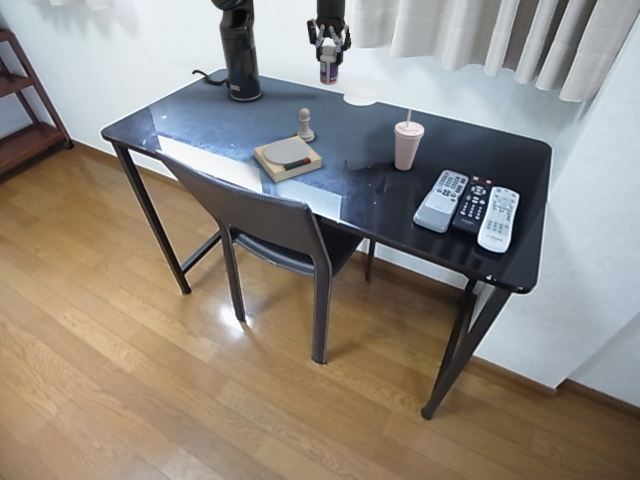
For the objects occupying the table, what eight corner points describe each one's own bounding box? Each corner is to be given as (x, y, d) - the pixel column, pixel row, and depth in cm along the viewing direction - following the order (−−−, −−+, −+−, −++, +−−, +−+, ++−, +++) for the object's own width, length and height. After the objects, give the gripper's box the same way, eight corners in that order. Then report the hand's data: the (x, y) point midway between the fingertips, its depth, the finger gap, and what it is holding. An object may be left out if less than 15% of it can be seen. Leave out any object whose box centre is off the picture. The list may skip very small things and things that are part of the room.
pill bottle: (338, 78, 113) (339, 44, 107) (337, 85, 110) (338, 50, 103) (320, 77, 114) (321, 43, 107) (319, 85, 110) (319, 49, 103)
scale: (254, 157, 91) (253, 144, 89) (298, 144, 95) (297, 132, 93) (275, 183, 83) (274, 170, 81) (322, 167, 88) (322, 155, 85)
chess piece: (294, 135, 98) (292, 105, 93) (311, 132, 99) (310, 103, 94) (299, 143, 95) (297, 114, 90) (316, 140, 96) (316, 111, 91)
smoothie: (393, 156, 91) (401, 100, 81) (419, 161, 89) (431, 105, 79) (386, 170, 87) (394, 113, 77) (413, 176, 85) (425, 118, 75)
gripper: (299, -6, 96) (301, 62, 108) (349, 1, 91) (345, 72, 103) (314, -12, 101) (314, 54, 113) (362, -5, 96) (357, 63, 108)
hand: (329, 62), depth 108 cm, fingers closed on pill bottle, 5 cm apart
